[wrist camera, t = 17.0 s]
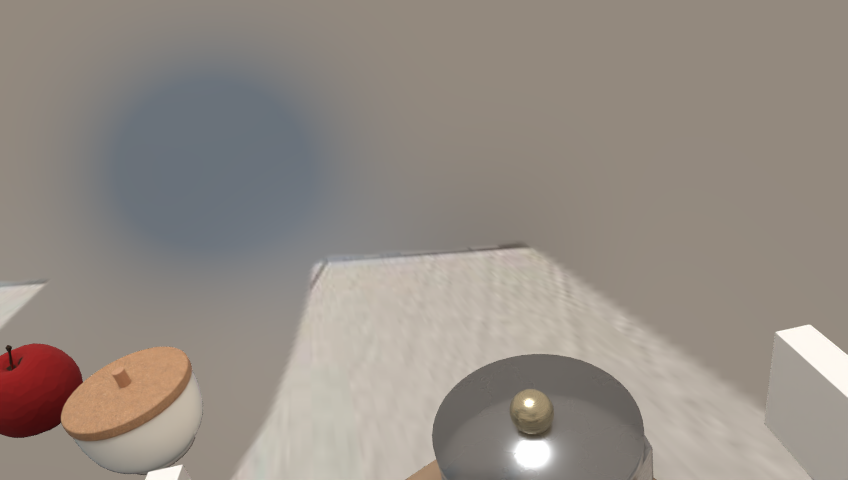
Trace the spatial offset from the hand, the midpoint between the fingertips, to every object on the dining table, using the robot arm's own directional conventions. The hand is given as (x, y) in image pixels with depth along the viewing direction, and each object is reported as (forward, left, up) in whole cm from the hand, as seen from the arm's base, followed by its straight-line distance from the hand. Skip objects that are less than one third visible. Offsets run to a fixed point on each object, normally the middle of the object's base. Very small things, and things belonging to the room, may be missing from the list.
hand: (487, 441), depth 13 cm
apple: (-55, -22, -26) cm, 65 cm away
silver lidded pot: (-11, +9, -24) cm, 28 cm away
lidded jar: (-41, -12, -26) cm, 50 cm away
